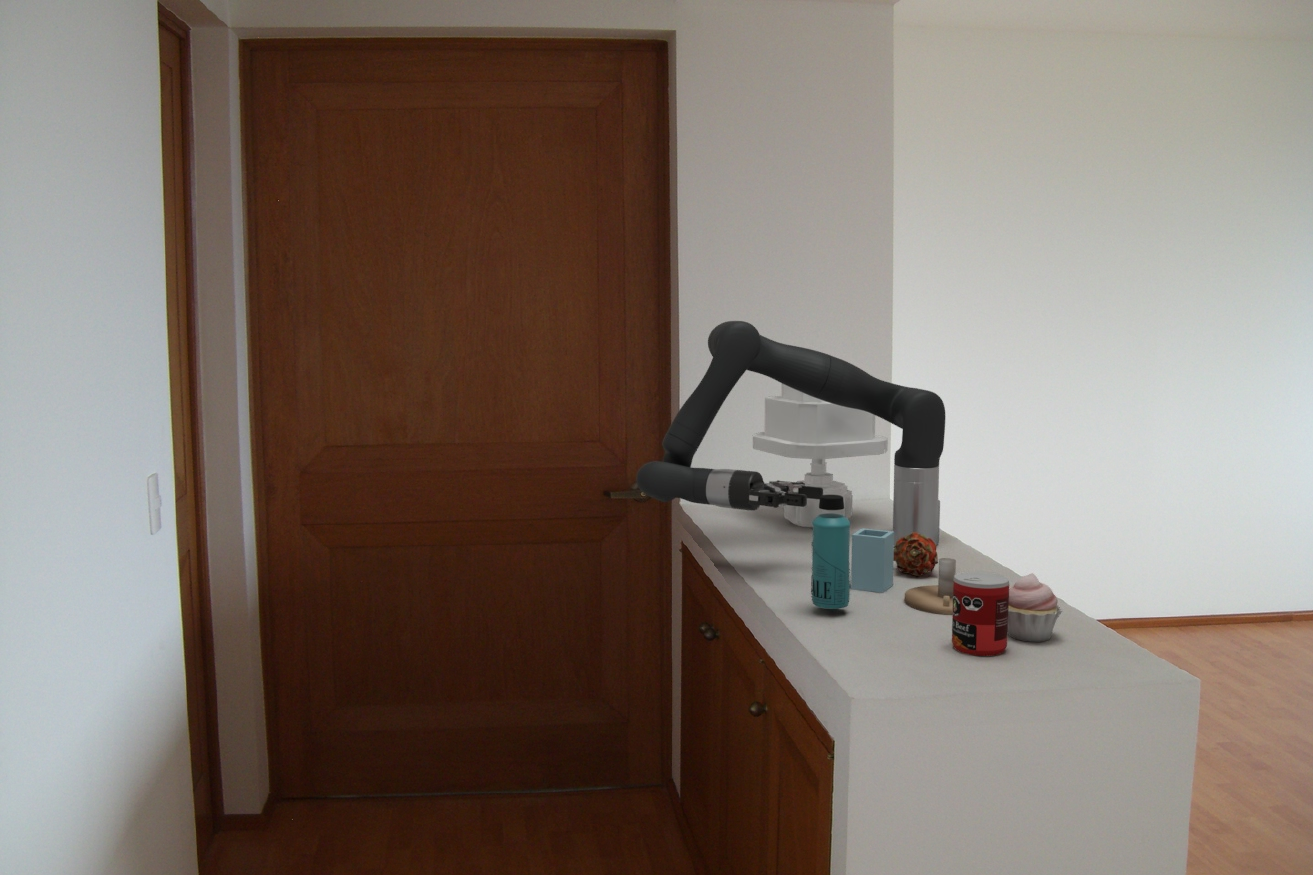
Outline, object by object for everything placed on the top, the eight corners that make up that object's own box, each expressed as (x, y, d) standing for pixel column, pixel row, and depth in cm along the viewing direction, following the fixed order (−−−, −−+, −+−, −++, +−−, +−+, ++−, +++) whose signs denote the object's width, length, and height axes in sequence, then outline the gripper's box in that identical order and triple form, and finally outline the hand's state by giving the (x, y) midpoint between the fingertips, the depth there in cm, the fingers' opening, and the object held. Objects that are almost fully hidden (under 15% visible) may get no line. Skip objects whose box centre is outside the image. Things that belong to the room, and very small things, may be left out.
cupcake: (1074, 638, 165) (1077, 575, 164) (1034, 649, 161) (1037, 584, 159) (1024, 623, 173) (1027, 563, 172) (985, 633, 168) (987, 571, 167)
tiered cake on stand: (740, 517, 257) (740, 371, 253) (833, 507, 269) (835, 368, 264) (800, 539, 233) (802, 379, 229) (899, 527, 245) (903, 374, 240)
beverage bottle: (852, 608, 182) (854, 492, 179) (846, 619, 176) (848, 499, 173) (814, 605, 184) (816, 490, 182) (806, 616, 178) (808, 497, 175)
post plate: (934, 587, 195) (936, 546, 194) (1004, 603, 184) (1006, 560, 183) (888, 602, 186) (889, 559, 185) (958, 620, 175) (960, 574, 174)
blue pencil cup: (861, 580, 200) (862, 528, 198) (892, 584, 197) (894, 531, 195) (850, 588, 194) (851, 534, 193) (883, 592, 191) (884, 538, 190)
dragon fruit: (922, 590, 199) (900, 582, 211) (957, 561, 200) (933, 556, 212) (895, 554, 198) (874, 548, 210) (930, 525, 199) (907, 522, 211)
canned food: (944, 641, 165) (946, 571, 163) (994, 639, 165) (997, 570, 164) (962, 657, 157) (964, 584, 156) (1015, 656, 158) (1018, 583, 156)
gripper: (719, 475, 200) (801, 482, 192) (750, 465, 212) (828, 471, 204) (718, 514, 201) (800, 523, 193) (749, 502, 213) (827, 510, 205)
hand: (814, 497), depth 199 cm, fingers open, 8 cm apart
